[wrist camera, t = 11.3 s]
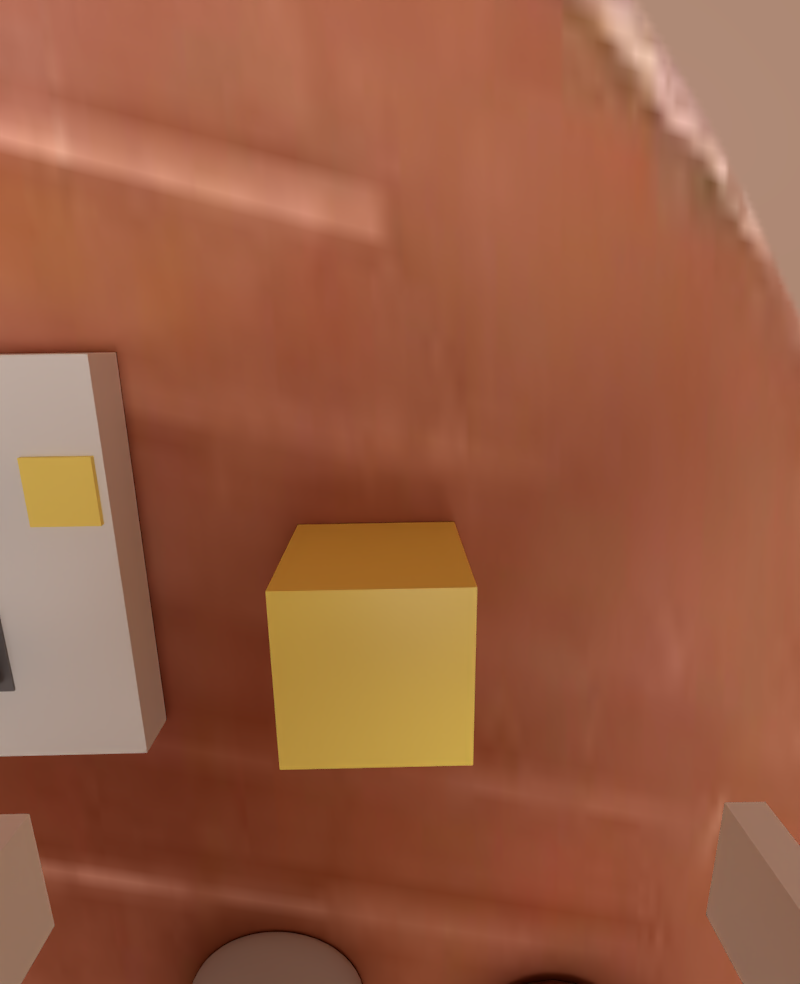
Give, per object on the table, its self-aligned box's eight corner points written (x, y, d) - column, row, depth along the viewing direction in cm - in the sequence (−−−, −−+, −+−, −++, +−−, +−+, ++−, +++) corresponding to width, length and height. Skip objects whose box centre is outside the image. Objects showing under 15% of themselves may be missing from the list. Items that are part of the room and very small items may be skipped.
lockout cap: (306, 663, 24) (279, 770, 18) (297, 524, 22) (265, 591, 16) (452, 660, 24) (472, 765, 18) (454, 521, 22) (477, 587, 16)
